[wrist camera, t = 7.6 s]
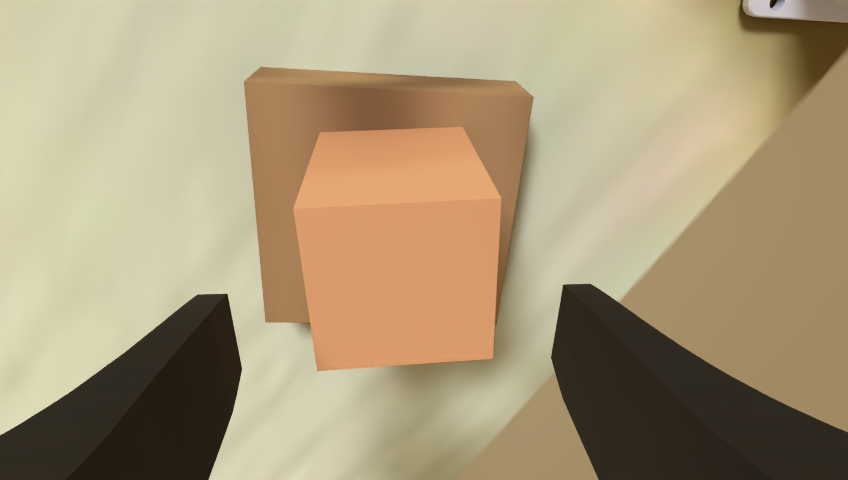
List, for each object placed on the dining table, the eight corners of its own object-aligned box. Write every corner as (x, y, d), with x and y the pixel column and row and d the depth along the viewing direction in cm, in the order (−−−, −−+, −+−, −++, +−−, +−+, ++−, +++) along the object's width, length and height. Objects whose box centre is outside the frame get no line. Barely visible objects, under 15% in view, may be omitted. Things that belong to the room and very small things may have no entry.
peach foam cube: (462, 126, 17) (501, 197, 12) (460, 250, 19) (493, 358, 14) (319, 132, 17) (293, 208, 11) (334, 257, 19) (317, 370, 13)
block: (512, 78, 19) (533, 97, 17) (482, 284, 23) (496, 324, 21) (263, 64, 18) (243, 81, 16) (279, 280, 23) (265, 322, 20)
